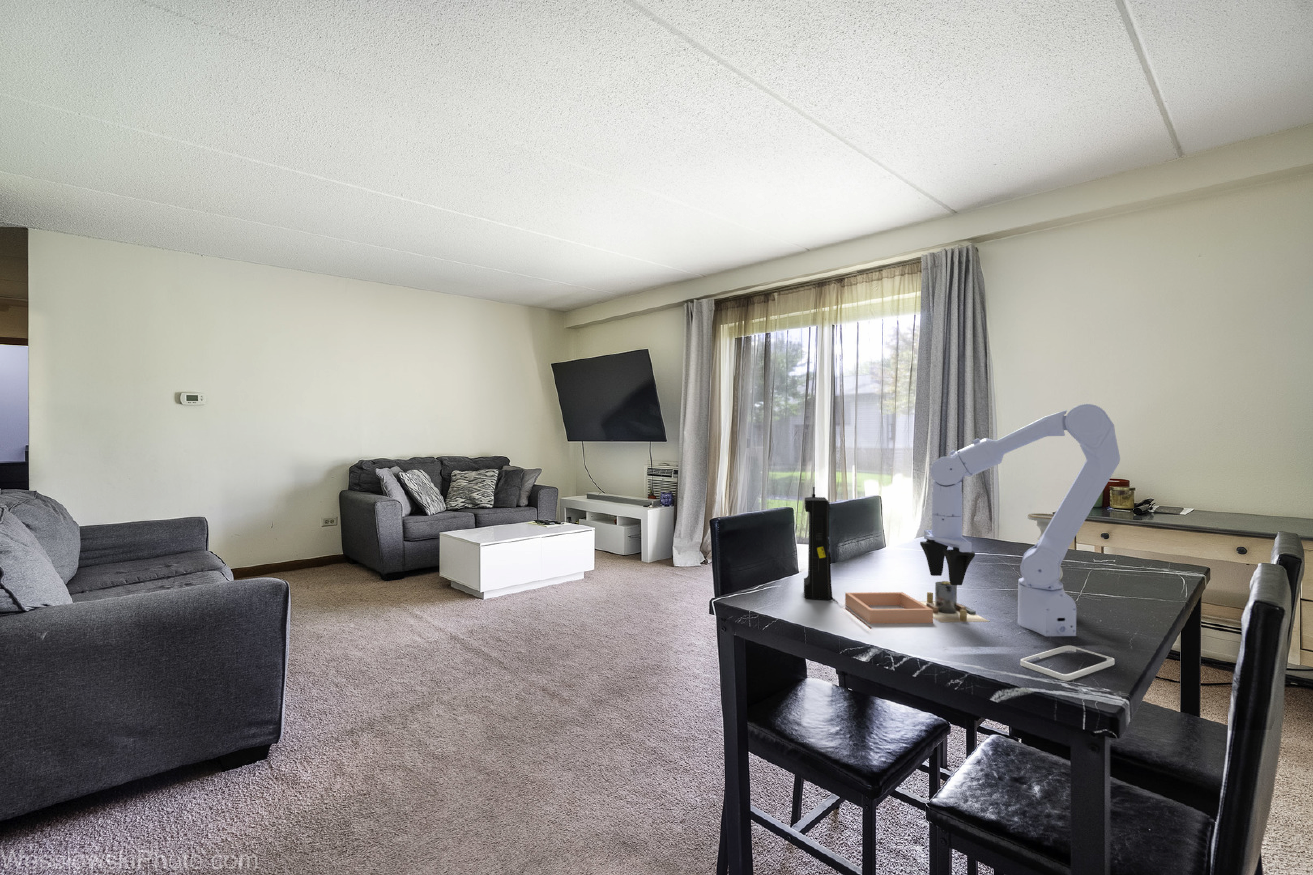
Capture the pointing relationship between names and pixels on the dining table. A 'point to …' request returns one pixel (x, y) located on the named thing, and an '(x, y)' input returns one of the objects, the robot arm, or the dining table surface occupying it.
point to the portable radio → (818, 550)
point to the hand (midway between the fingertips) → (945, 580)
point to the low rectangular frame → (911, 614)
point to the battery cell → (946, 597)
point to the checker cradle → (960, 616)
